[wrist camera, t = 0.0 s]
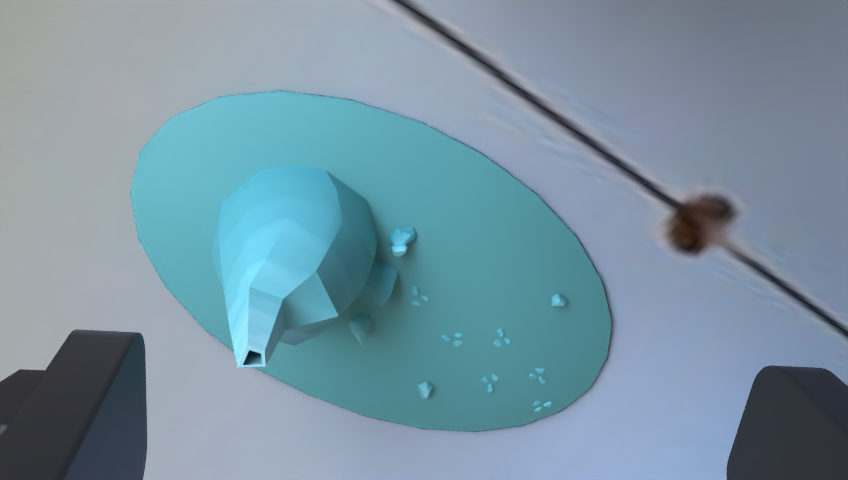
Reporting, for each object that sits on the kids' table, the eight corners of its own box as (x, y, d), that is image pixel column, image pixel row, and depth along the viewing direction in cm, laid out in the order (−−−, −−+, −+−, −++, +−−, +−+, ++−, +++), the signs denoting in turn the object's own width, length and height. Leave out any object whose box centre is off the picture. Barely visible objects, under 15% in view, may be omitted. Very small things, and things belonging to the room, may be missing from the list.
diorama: (504, 481, 34) (551, 662, 26) (69, 283, 27) (-39, 445, 20) (683, 278, 30) (802, 420, 22) (225, -8, 23) (166, 51, 16)
